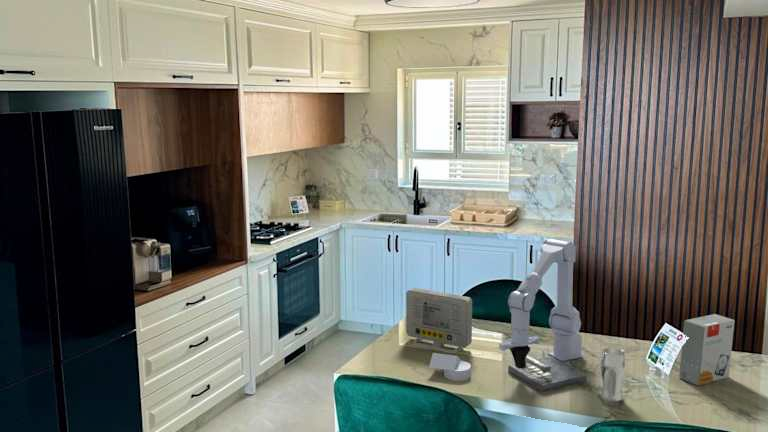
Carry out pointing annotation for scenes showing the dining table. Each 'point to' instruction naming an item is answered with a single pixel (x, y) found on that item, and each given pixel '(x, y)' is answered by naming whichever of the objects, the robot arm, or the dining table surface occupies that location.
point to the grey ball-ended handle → (538, 364)
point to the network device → (439, 319)
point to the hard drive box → (706, 349)
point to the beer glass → (612, 373)
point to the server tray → (548, 375)
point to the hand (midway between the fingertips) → (518, 367)
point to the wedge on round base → (451, 366)
